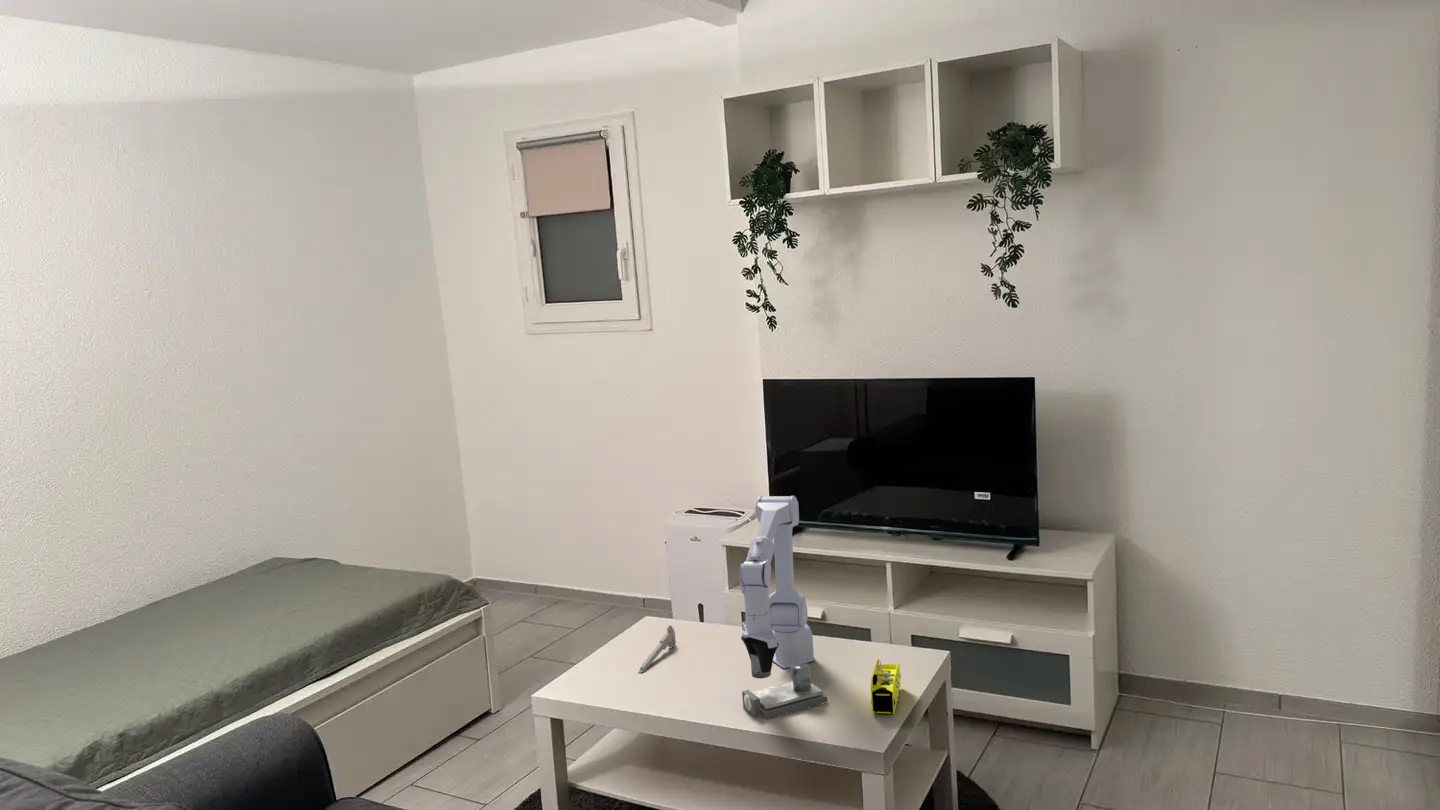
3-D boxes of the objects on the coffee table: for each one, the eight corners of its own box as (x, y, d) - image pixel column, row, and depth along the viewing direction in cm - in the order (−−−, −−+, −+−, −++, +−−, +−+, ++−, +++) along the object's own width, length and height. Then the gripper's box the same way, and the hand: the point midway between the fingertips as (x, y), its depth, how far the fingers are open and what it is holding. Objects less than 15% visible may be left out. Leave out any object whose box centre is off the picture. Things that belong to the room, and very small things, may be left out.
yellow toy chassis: (877, 687, 248) (875, 654, 247) (901, 688, 247) (900, 654, 246) (870, 716, 233) (868, 680, 232) (895, 717, 231) (894, 681, 230)
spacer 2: (803, 682, 248) (802, 661, 247) (814, 687, 244) (813, 667, 243) (788, 686, 245) (787, 666, 245) (798, 692, 241) (797, 671, 241)
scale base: (804, 686, 251) (803, 670, 251) (827, 702, 241) (826, 685, 241) (737, 704, 244) (736, 687, 244) (758, 721, 234) (757, 703, 234)
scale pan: (804, 681, 250) (803, 678, 250) (823, 694, 242) (822, 690, 242) (747, 695, 244) (747, 692, 244) (765, 709, 236) (765, 706, 236)
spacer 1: (766, 669, 246) (764, 649, 245) (774, 675, 242) (772, 655, 241) (748, 673, 244) (747, 652, 243) (756, 679, 240) (755, 659, 239)
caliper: (672, 645, 286) (670, 623, 285) (676, 646, 286) (674, 624, 285) (638, 674, 268) (636, 650, 267) (642, 674, 267) (639, 651, 266)
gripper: (728, 607, 246) (732, 662, 248) (755, 624, 233) (759, 682, 234) (755, 601, 249) (759, 655, 250) (783, 617, 236) (787, 675, 237)
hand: (761, 668), depth 243 cm, fingers closed on spacer 1, 4 cm apart
